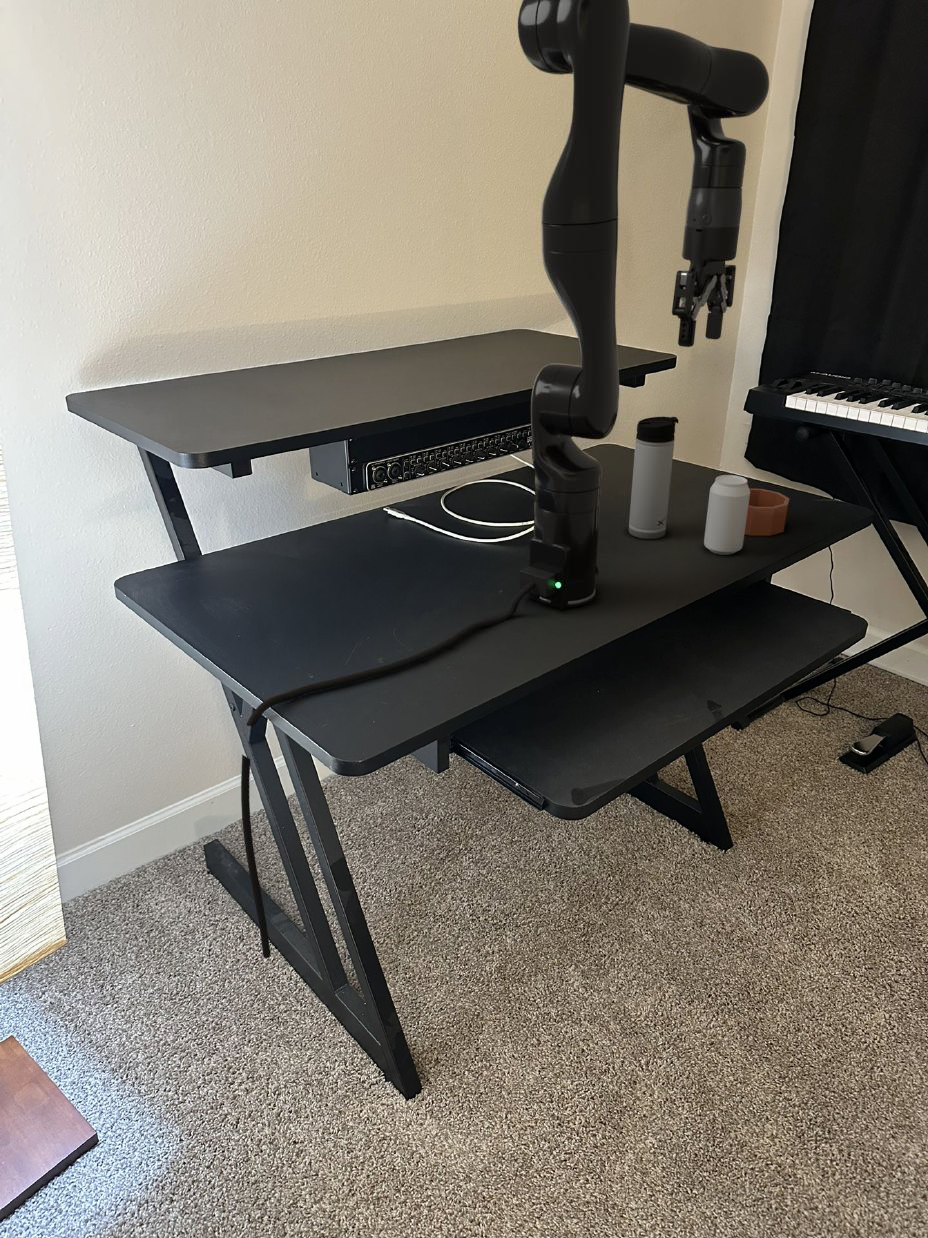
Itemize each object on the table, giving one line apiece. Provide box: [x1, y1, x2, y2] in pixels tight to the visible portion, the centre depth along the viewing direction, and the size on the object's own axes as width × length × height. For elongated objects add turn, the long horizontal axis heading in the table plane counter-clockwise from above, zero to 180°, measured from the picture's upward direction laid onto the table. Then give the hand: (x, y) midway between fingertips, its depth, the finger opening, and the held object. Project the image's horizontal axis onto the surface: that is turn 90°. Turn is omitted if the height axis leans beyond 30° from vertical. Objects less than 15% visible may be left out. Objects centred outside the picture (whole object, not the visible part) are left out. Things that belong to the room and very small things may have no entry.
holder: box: [744, 488, 790, 537], centre depth 157 cm, size 10×11×5 cm
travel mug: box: [628, 416, 679, 540], centre depth 151 cm, size 6×7×20 cm
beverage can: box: [703, 474, 750, 556], centre depth 145 cm, size 6×6×12 cm
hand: (699, 342), depth 133 cm, fingers open, 8 cm apart
